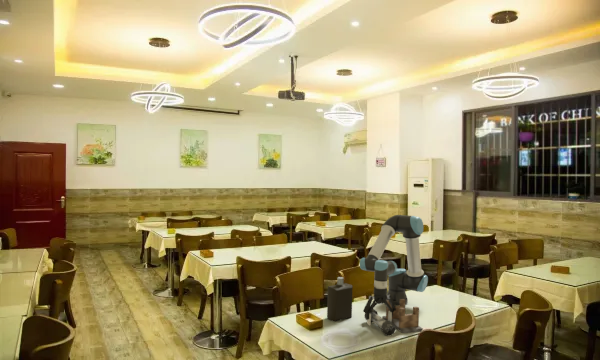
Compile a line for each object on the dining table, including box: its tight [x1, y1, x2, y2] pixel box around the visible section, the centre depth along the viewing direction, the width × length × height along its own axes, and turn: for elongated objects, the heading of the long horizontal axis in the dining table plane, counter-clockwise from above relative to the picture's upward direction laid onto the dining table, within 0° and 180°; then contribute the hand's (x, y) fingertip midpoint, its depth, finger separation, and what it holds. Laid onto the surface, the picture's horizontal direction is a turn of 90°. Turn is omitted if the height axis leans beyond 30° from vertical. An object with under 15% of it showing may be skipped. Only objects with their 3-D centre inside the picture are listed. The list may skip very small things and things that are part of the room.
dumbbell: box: [364, 308, 396, 337], centre depth 246 cm, size 8×23×8 cm, turn 18°
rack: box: [381, 299, 424, 334], centre depth 253 cm, size 13×24×12 cm, turn 18°
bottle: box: [326, 276, 353, 322], centre depth 262 cm, size 8×16×25 cm, turn 127°
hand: (379, 323), depth 246 cm, fingers open, 13 cm apart
